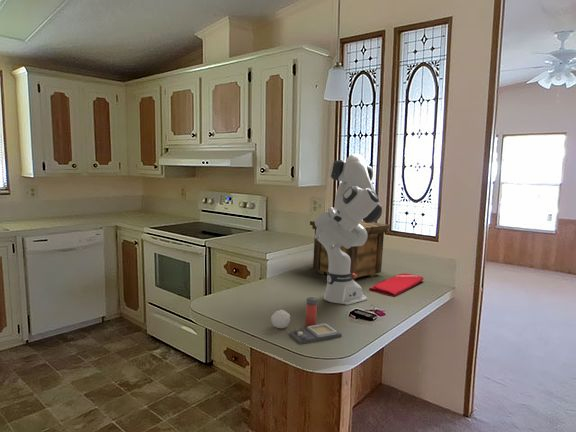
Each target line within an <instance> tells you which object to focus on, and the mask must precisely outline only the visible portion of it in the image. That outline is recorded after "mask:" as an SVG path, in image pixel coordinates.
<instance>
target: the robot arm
mask: <svg viewBox="0 0 576 432" xmlns="http://www.w3.org/2000/svg"><path fill="white" fill-rule="evenodd" d="M373 170H374V169H373V167H372V166H371V165H368V164H367V163H366V160H365V158H364V157H363V156H362V155H361V154H359V153H352V154H350V155H349V156H347V158H346V159H345V160H342V159H339V160H338V159H337V160H335V161H333V163H332V164H331V166H330V168H329V174H330V178H331V179H332V180H334V181H339V182H340V183H339V185H338V187H337V191H336V194H335V199H334V207H332V206H330V207H329V208H328V210H327V211H324V212H322V213H321V214H320V215H319V216H318V217H317V218H316V219H315V220H314V221H315V226H316V227H317V229H316V234H315V233H314V236H313V237H314V238H316V239H317V240H318V241H319V242H320V243H321V244H322V245H323V246H324V247H325V249H326V251H327V254H328V262H329V266H328V271H327V274H326V282H327V283H326V288H325V292H324V296H323V299H324V301H326V302H329V303H332V304H333V303H335V304H341V305H342V304H343V305H347V306H348V305H353V304H356V303H360V302H361V303H362V302H364V301H367V300H368V298H367V297H368V296H366V295H364V293H363V288H362V286H361V285H360V284H359V283H358V282H356V280H355V281H354V280H353V278H352V277H354V278H356V277H357V275H356V274H354V273H353V274H352V273H351V272H350V265H351V259H350V257H349V255H348V254H346V253H345V252H343V251H342V250H341V249H340V247H341V246H343V247H345V248H346V249H348V248H350V247H351V246H352V247H355V246H362V245H364V244H365V242H366V241H367V231H366V229H365V228H364V227H363V226H362V225H361V224H360V222H361V220H362V221H364V222H365V223H373V222H374V223H377V221H378V220H380V218H381V217H382V214H383V206H382V205H381V204H380V203H379V202H380V199H379V197H378V195H377V193H376V190H375V188H374V186H373V183H372V180H373V178H374V171H373ZM357 278H358V277H357ZM357 278H356V279H357Z"/></svg>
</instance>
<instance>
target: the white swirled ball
mask: <svg viewBox="0 0 576 432" xmlns="http://www.w3.org/2000/svg"><path fill="white" fill-rule="evenodd" d="M270 321H271V323H272V325H273V326H274V327H275V328H277V329H285V328H286V327H288V325H289V324H290V321H291V315H290V313H288V311H286V310H283V309H279V310H276V311H274V313H272V314H271V317H270Z"/></svg>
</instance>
